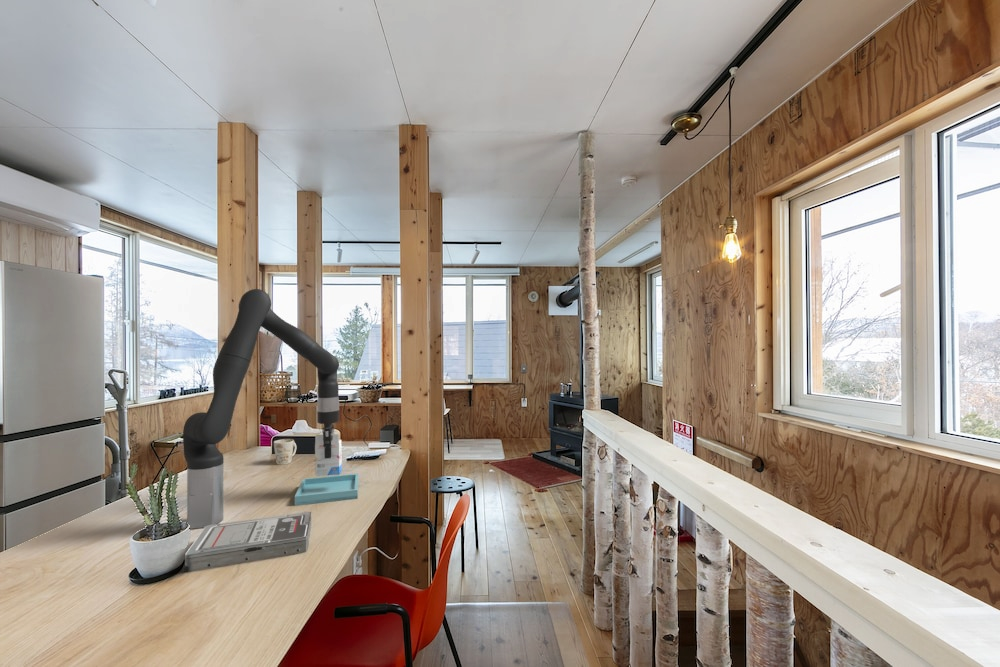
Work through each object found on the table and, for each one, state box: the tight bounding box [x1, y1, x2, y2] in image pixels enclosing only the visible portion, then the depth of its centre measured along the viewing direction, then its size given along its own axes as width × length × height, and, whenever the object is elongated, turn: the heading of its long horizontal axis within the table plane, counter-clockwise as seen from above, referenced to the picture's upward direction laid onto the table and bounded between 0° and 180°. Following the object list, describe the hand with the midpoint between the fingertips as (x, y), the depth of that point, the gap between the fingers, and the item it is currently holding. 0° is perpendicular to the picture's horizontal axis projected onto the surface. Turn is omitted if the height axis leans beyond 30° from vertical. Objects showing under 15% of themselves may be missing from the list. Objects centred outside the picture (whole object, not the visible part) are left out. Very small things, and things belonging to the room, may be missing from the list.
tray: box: [294, 473, 359, 506], centre depth 158 cm, size 20×20×3 cm
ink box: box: [314, 433, 343, 477], centre depth 158 cm, size 8×5×15 cm, turn 100°
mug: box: [273, 438, 298, 465], centre depth 200 cm, size 8×13×10 cm, turn 170°
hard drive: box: [183, 511, 312, 574], centre depth 116 cm, size 18×27×4 cm
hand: (328, 455), depth 158 cm, fingers closed on ink box, 5 cm apart
